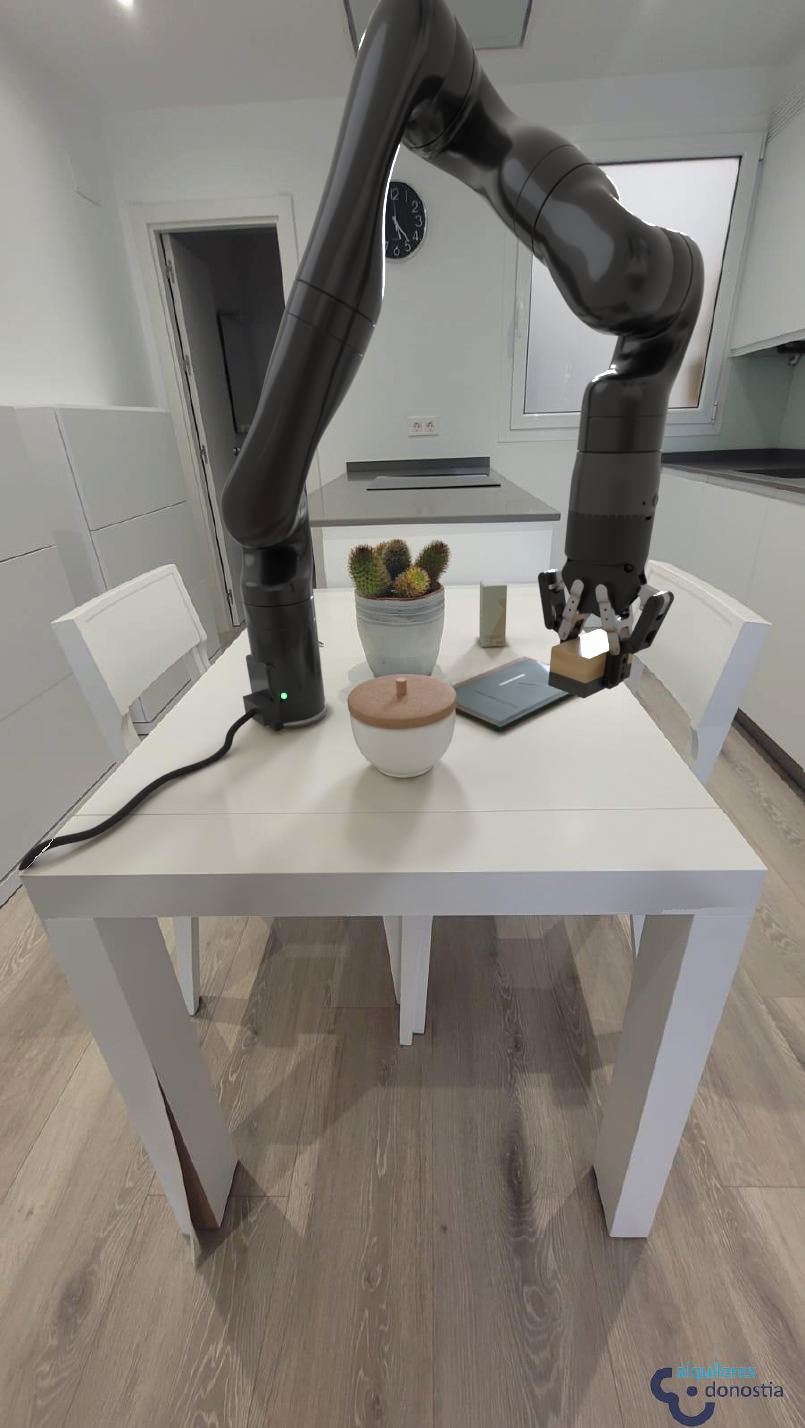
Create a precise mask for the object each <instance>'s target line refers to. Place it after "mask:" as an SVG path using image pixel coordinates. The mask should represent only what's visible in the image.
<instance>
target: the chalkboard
mask: <svg viewBox="0 0 805 1428" xmlns="http://www.w3.org/2000/svg"><path fill="white" fill-rule="evenodd" d="M549 669H550V663H547V662H543V661H541V660H537V659H534V658H531V657H529V656H524V655H523V656H521V657H519V658H516V659H514V660H511V661H509V662H507V663H505V664H504V663H503V664H502V665H499V666H497V667H495V668H492V669H489V670H486V671H485V672H483V673H480V674H477V675H476V676H473V677H470V678H468V679H465V680H463V681H460V682H458V683H455V684H452V685H451V686H452V687H453V689H454V690H455V692H456V695H457V704H456V708H455V714H459V715H460V716H463V717H465V718H467V719H469V720H472V721H474V722H476V723H479V724H481V725H483V726H485V727H488V728H489V729H492V730H495V731H496V732H499V733H501V732H503V731H506V730H507V729H509V728H511V727H513V726H515V725H517V724H520V723H521V722H523V721H525V720H527V719H529V718H531V717H534V716H536V715H537V714H539V713H542V712H543V711H545V710H547V709H549V708H551V707H553V706H555V705H557V704H559V703H561V702H564V701H565V700H567V699H569V698H571V697H573V696H574V695H573V694H570V693H567V692H565V691H562V690H559V689H557V688H554V687H551V686H549V685H548V680H549V671H550V670H549Z"/></svg>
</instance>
